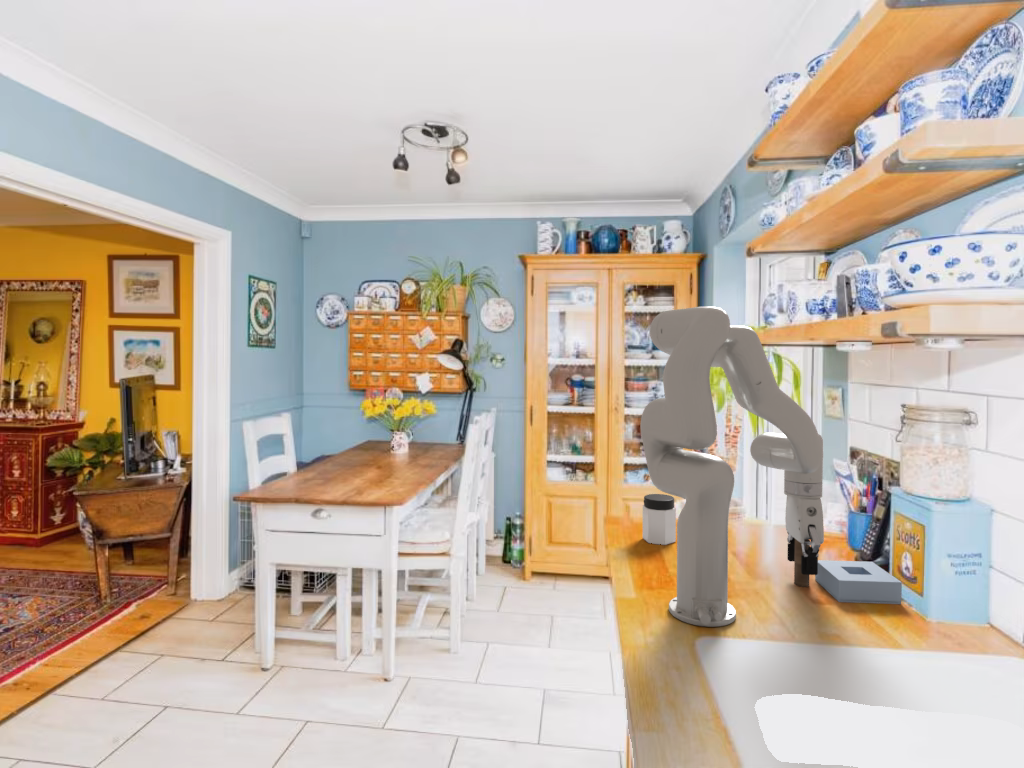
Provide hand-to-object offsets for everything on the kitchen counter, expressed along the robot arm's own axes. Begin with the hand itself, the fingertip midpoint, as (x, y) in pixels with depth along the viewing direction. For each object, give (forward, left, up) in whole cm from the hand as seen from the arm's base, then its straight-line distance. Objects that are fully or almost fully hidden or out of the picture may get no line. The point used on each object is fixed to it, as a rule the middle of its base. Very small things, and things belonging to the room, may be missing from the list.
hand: (802, 566), depth 129 cm
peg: (0, 0, -4) cm, 4 cm away
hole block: (-3, -10, -4) cm, 11 cm away
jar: (+29, +27, -4) cm, 40 cm away
